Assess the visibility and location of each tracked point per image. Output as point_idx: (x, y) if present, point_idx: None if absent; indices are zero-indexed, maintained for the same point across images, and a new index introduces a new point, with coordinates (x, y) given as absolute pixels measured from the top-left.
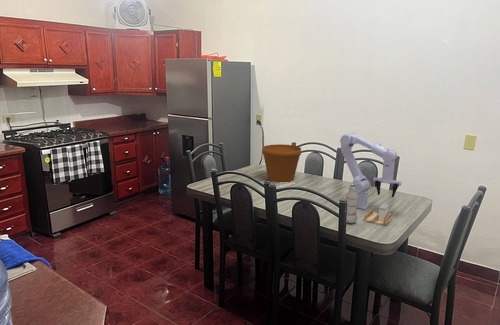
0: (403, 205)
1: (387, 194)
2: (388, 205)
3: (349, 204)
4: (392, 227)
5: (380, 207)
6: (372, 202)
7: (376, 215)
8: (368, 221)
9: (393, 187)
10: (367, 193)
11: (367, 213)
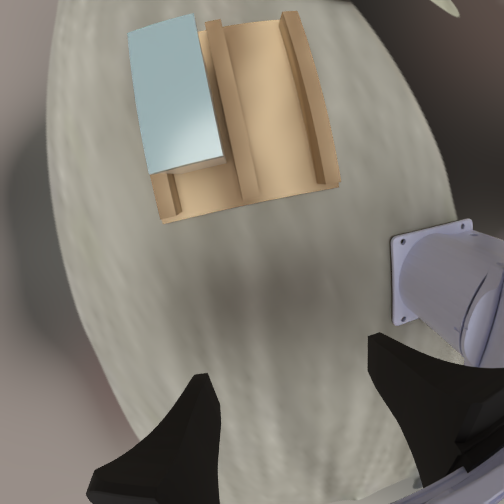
0: (236, 447)
1: (349, 479)
2: (147, 161)
3: None
4: (101, 75)
5: (185, 26)
6: None
7: (230, 67)
8: (256, 24)
9: (150, 474)
10: (461, 322)
11: (308, 60)
